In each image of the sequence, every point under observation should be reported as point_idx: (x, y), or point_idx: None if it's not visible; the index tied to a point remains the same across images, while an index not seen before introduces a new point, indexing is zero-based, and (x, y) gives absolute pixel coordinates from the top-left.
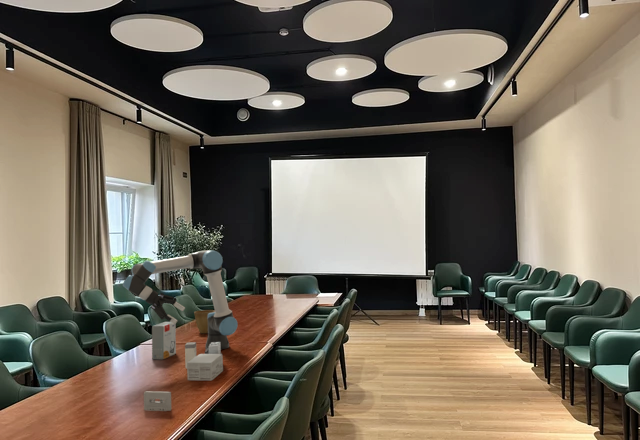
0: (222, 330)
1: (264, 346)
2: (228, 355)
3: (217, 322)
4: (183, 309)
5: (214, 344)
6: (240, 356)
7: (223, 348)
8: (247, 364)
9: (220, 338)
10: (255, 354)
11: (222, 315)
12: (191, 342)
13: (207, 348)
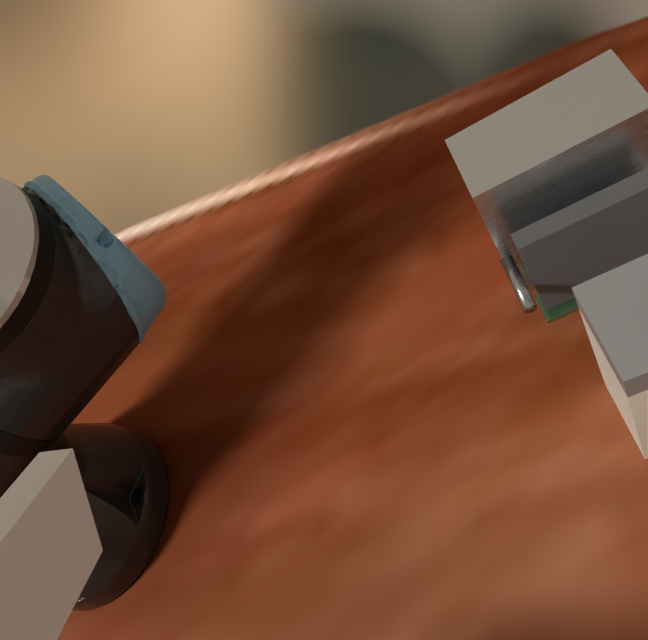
0: (159, 281)
1: (123, 239)
2: (298, 316)
3: (69, 311)
4: (81, 502)
5: (556, 114)
6: (320, 230)
7: (147, 439)
8: (493, 82)
9: (86, 441)
10: (276, 181)
11: (27, 215)
12: (600, 330)
13: (525, 240)
